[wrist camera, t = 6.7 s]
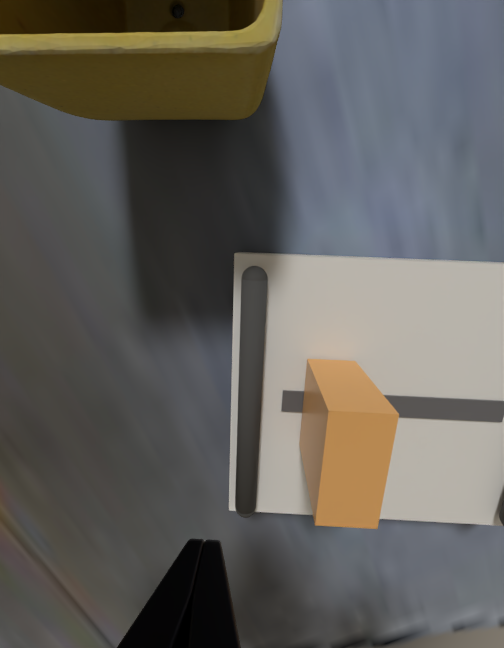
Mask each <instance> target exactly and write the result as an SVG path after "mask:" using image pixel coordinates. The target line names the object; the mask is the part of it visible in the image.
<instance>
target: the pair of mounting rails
mask: <svg viewBox="0 0 504 648" xmlns="http://www.w3.org/2000/svg"><path fill="white" fill-rule="evenodd" d="M267 285H268V277H267V273H266V272H265V270H264V269H263V268H261V267H259V266H250V267H248V268H247V269H245V271H244V272H243V274H242V278H241V313H240V348H239V384H238V419H237V454H236V490H235V509H236V512H237V513H238V514H239V515H240V516H241V517H244V518H247V517H250V516H251V515H252V514H253V513H254V512H255V509H256V498H257V479H258V460H259V440H260V421H261V401H262V382H263V362H264V343H265V323H266V304H267ZM499 518H500V521H501V523H502V524H503V526H504V500H503V503H502V506H501V510H500V513H499Z"/></svg>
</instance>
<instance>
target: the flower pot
mask: <svg viewBox="0 0 504 648" xmlns="http://www.w3.org/2000/svg"><path fill="white" fill-rule="evenodd" d="M282 2H283V0H0V85H2V86H4V87H6V88H9V89H11V90H13V91H15V92H18V93H20V94H22V95H24V96H27V97H29V98H31V99H34V100H36V101H38V102H41V103H43V104H45V105H48V106H50V107H53V108H55V109H57V110H60V111H63V112H66V113H69V114H72V115H75V116H79V117H83V118H88V119H95V120H192V119H200V120H239V119H244V118H247V117H249V116H251V115H252V114H253V113H254V112H255V111H256V110H257V108H258V107H259V105H260V103H261V100H262V98H263V94H264V91H265V87H266V83H267V79H268V76H269V73H270V69H271V65H272V62H273V58H274V53H275V49H276V45H277V41H278V38H279V34H280V30H281V24H282ZM175 5H181V6H182V7H183V9H184V14H183V16H182V17H180V18H175V17H174V16H173V14H172V9H173V7H174V6H175Z"/></svg>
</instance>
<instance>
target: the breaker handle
mask: <svg viewBox="0 0 504 648" xmlns="http://www.w3.org/2000/svg"><path fill="white" fill-rule="evenodd" d="M398 418H399V413H398V412H397V411H396V410H395V409H394V407H393V406H392V405H391V404H390V402H389V401H388V400H387V399H386V398H385V396H384V395H383V394H382V393H381V391H380V390H379V389H378V388H377V387H376V385H375V384H374V383H373V382H372V381H371V379H370V378H369V377H368V376H367V374H366V373H365V372H364V371H363V370H362V368H361V367H360V366H359V365H358V364H357V362H356V361H347V360H326V359H307V367H306V377H305V388H304V399H303V410H302V420H301V431H300V442H299V445H300V450H301V456H302V461H303V466H304V471H305V476H306V481H307V486H308V492H309V497H310V502H311V507H312V512H313V517H314V523H315V525H318V526H335V527H353V528H370V529H377V528H378V523H379V518H380V513H381V507H382V502H383V497H384V492H385V486H386V481H387V476H388V471H389V465H390V460H391V455H392V449H393V444H394V439H395V434H396V428H397V423H398Z"/></svg>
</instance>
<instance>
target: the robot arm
mask: <svg viewBox="0 0 504 648" xmlns="http://www.w3.org/2000/svg"><path fill="white" fill-rule="evenodd" d="M117 648H241V646H240V641H239V635H238V630H237V625H236V620H235V614H234V609H233V604H232V598H231V593H230V588H229V583H228V577H227V572H226V567H225V561H224V556H223V551H222V546H221V542H220V541H219V540H206V541H204V540H203V539H190V540H189V541H188V542H187V543H186V545H185V546H184V548H183V549H182V551H181V552H180V554H179V555H178V557H177V558H176V560H175V561H174V563H173V564H172V566H171V567H170V569H169V570H168V572H167V573H166V575H165V576H164V578H163V579H162V581H161V582H160V584H159V585H158V587H157V588H156V590H155V591H154V593H153V594H152V596H151V597H150V599H149V600H148V602H147V603H146V605H145V606H144V608H143V609H142V611H141V612H140V614H139V615H138V617H137V618H136V620H135V621H134V623H133V624H132V626H131V627H130V629H129V630H128V632H127V633H126V635H125V636H124V638H123V639H122V641H121V642H120V644H119V645H118V647H117Z"/></svg>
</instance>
